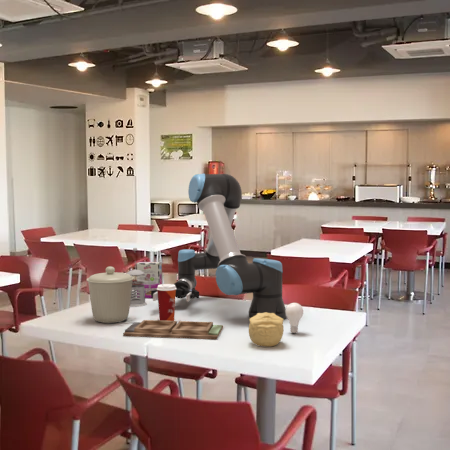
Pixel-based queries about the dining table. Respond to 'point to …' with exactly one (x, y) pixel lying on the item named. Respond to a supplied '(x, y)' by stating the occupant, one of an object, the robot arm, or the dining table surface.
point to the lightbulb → (294, 316)
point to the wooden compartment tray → (174, 329)
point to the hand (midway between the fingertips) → (170, 298)
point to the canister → (110, 295)
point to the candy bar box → (150, 276)
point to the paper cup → (166, 301)
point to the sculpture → (266, 329)
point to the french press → (137, 288)
